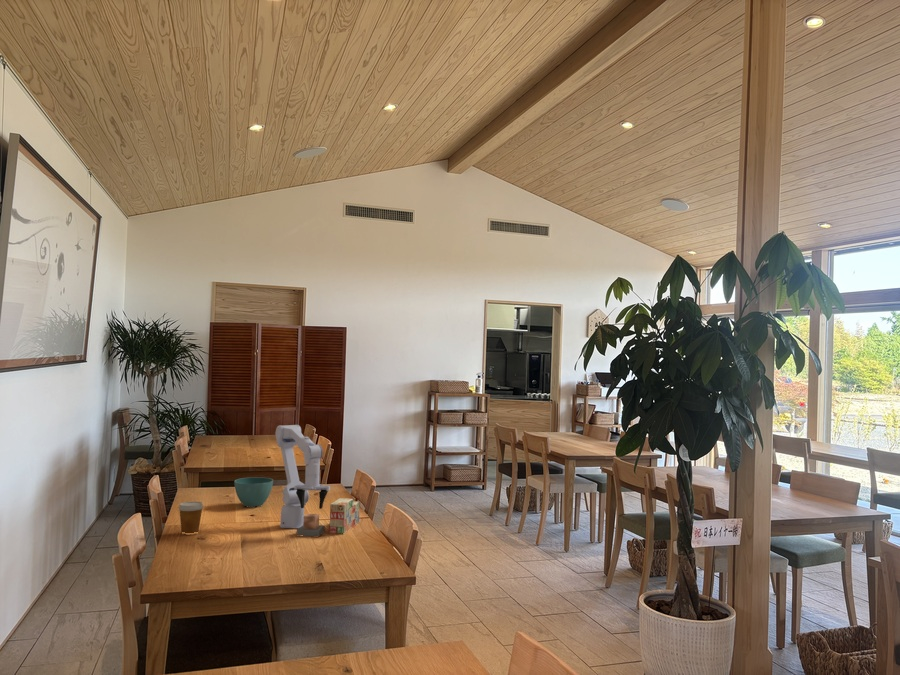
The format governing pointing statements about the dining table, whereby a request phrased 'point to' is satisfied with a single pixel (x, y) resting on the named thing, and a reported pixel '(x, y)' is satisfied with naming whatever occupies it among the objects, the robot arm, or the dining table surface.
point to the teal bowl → (253, 490)
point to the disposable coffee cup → (190, 516)
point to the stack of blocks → (343, 515)
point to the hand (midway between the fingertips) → (311, 508)
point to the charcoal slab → (311, 531)
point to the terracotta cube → (311, 521)
